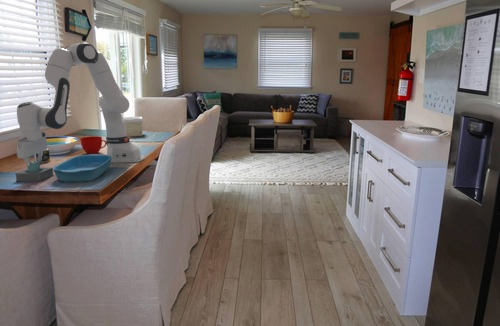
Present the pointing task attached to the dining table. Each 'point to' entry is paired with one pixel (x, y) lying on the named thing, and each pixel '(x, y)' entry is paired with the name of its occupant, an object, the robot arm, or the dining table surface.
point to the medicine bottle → (43, 156)
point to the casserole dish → (82, 167)
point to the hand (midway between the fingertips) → (34, 163)
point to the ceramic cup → (92, 144)
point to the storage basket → (133, 126)
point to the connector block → (34, 167)
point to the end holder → (34, 175)
